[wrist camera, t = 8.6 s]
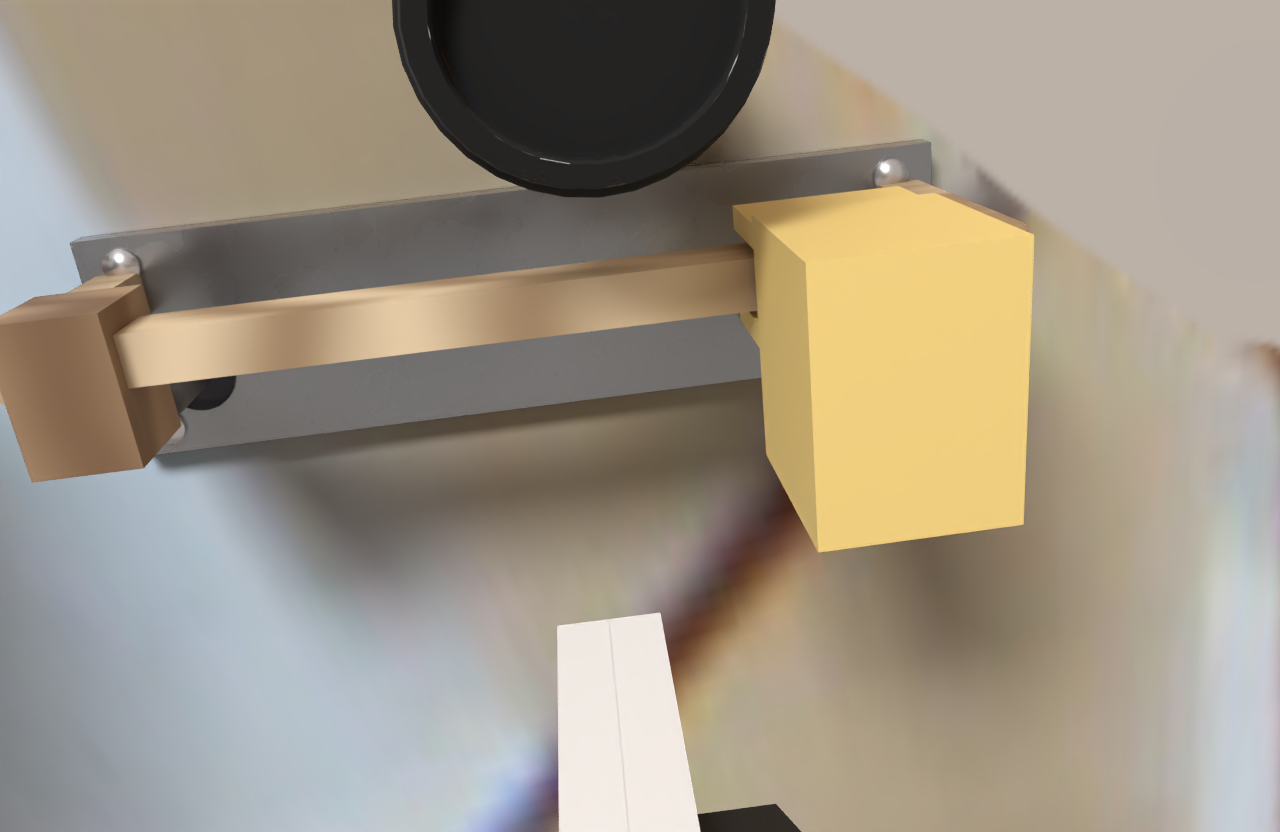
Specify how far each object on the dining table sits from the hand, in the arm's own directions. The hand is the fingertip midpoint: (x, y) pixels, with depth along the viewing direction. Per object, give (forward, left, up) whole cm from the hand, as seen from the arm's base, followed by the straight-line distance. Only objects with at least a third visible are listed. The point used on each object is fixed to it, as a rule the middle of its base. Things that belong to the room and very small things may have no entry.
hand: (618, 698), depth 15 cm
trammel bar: (-2, +1, -24) cm, 24 cm away
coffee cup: (+1, +10, -25) cm, 27 cm away
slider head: (+8, +1, -23) cm, 25 cm away
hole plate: (-2, 0, -25) cm, 25 cm away
